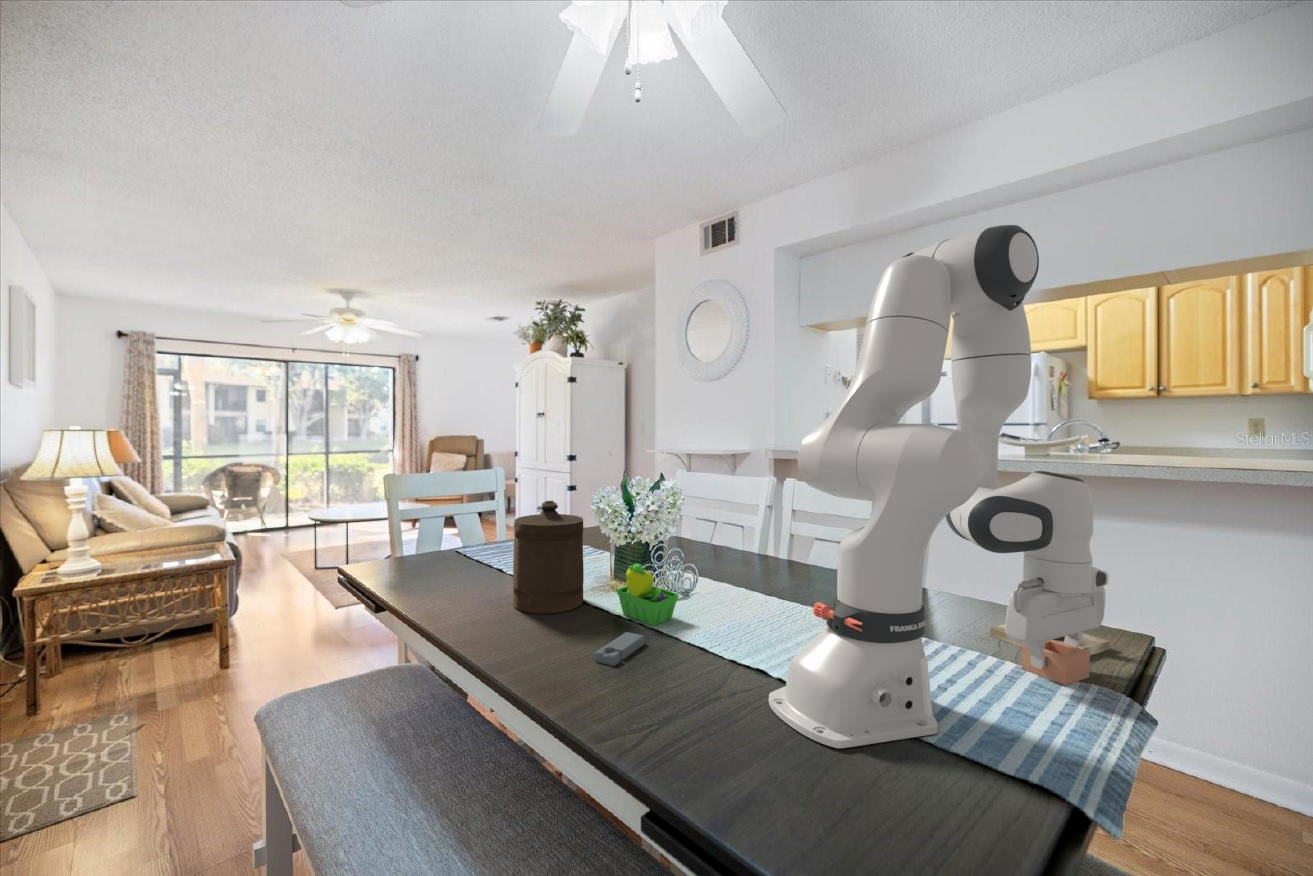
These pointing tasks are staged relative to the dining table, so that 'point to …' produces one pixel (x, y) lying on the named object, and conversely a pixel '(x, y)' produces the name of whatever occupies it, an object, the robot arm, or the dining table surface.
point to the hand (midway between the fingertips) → (1054, 662)
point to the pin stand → (1060, 640)
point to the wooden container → (548, 561)
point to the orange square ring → (1060, 662)
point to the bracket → (619, 648)
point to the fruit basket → (645, 597)
